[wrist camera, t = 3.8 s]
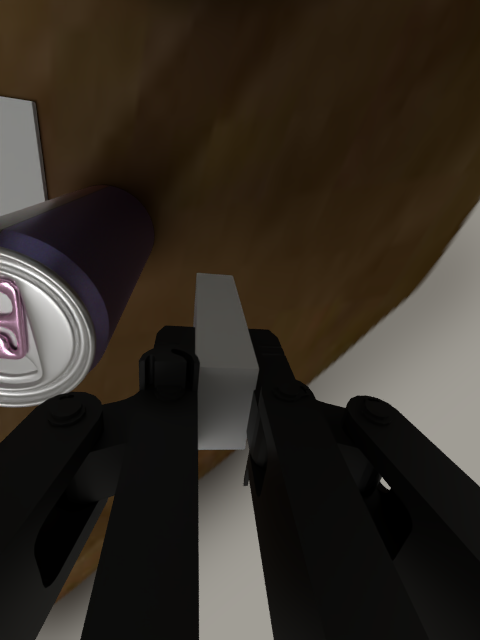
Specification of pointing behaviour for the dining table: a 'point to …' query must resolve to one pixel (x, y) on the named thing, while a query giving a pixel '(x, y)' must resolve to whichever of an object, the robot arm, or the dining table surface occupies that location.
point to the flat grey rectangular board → (20, 156)
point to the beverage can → (65, 287)
